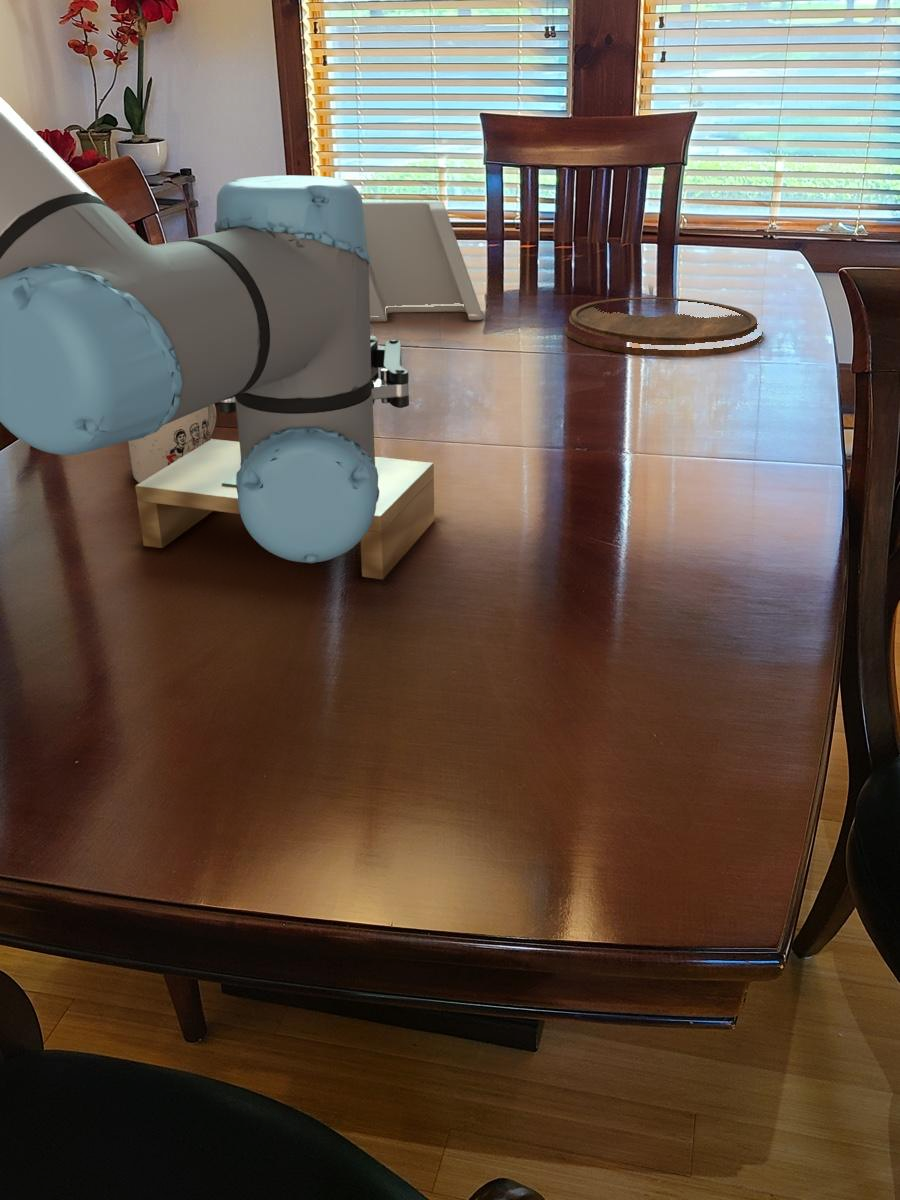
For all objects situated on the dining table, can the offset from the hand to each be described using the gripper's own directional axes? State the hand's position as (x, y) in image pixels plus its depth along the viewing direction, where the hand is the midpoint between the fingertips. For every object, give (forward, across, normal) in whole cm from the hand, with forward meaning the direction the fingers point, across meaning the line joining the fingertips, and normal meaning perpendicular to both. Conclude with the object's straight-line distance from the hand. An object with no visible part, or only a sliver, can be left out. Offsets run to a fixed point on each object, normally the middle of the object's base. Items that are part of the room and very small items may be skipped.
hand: (316, 336), depth 90 cm
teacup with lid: (+23, -16, -20) cm, 35 cm away
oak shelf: (+5, -4, -20) cm, 21 cm away
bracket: (+98, +7, -20) cm, 100 cm away
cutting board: (+81, +54, -20) cm, 100 cm away
